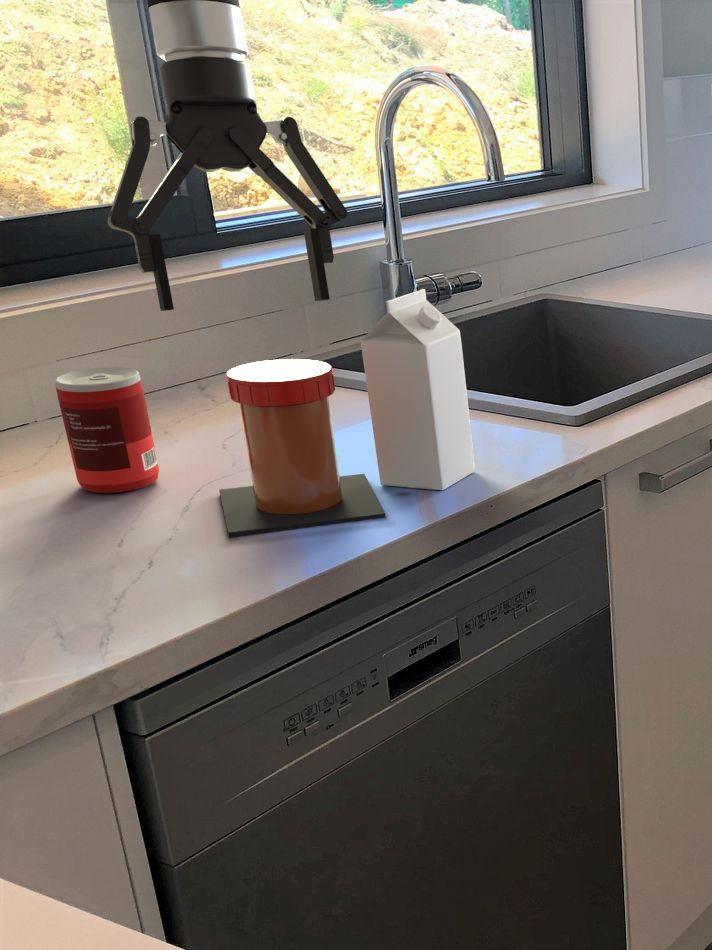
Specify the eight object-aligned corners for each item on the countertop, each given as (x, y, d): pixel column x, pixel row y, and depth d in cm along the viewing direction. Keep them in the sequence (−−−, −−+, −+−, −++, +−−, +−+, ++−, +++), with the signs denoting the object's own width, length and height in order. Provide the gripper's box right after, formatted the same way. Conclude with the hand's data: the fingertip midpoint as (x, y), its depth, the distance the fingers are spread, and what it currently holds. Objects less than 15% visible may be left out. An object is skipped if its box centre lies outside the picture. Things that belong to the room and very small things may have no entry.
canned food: (148, 466, 148) (127, 363, 143) (171, 484, 142) (149, 377, 138) (69, 479, 143) (44, 374, 139) (89, 498, 138) (64, 389, 133)
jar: (259, 518, 132) (237, 388, 127) (252, 494, 138) (231, 369, 133) (347, 508, 135) (330, 380, 130) (337, 485, 141) (320, 362, 136)
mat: (228, 537, 128) (227, 532, 128) (219, 494, 140) (219, 489, 139) (386, 518, 134) (385, 513, 134) (365, 478, 145) (364, 473, 145)
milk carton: (380, 486, 143) (354, 299, 135) (415, 467, 149) (392, 287, 141) (442, 492, 141) (420, 303, 134) (476, 472, 148) (456, 290, 140)
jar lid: (234, 410, 126) (229, 385, 125) (227, 387, 134) (223, 363, 133) (340, 400, 130) (337, 376, 129) (328, 379, 138) (325, 356, 137)
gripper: (337, 71, 134) (372, 298, 139) (42, 66, 121) (93, 316, 126) (357, 57, 127) (392, 294, 133) (49, 49, 115) (101, 313, 120)
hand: (247, 305), depth 129 cm, fingers open, 13 cm apart
